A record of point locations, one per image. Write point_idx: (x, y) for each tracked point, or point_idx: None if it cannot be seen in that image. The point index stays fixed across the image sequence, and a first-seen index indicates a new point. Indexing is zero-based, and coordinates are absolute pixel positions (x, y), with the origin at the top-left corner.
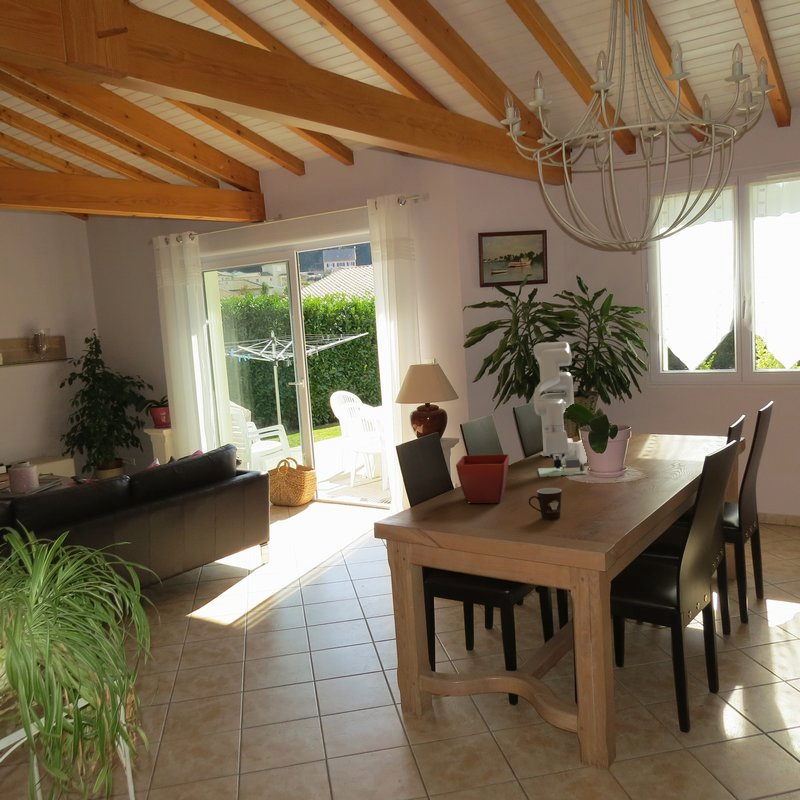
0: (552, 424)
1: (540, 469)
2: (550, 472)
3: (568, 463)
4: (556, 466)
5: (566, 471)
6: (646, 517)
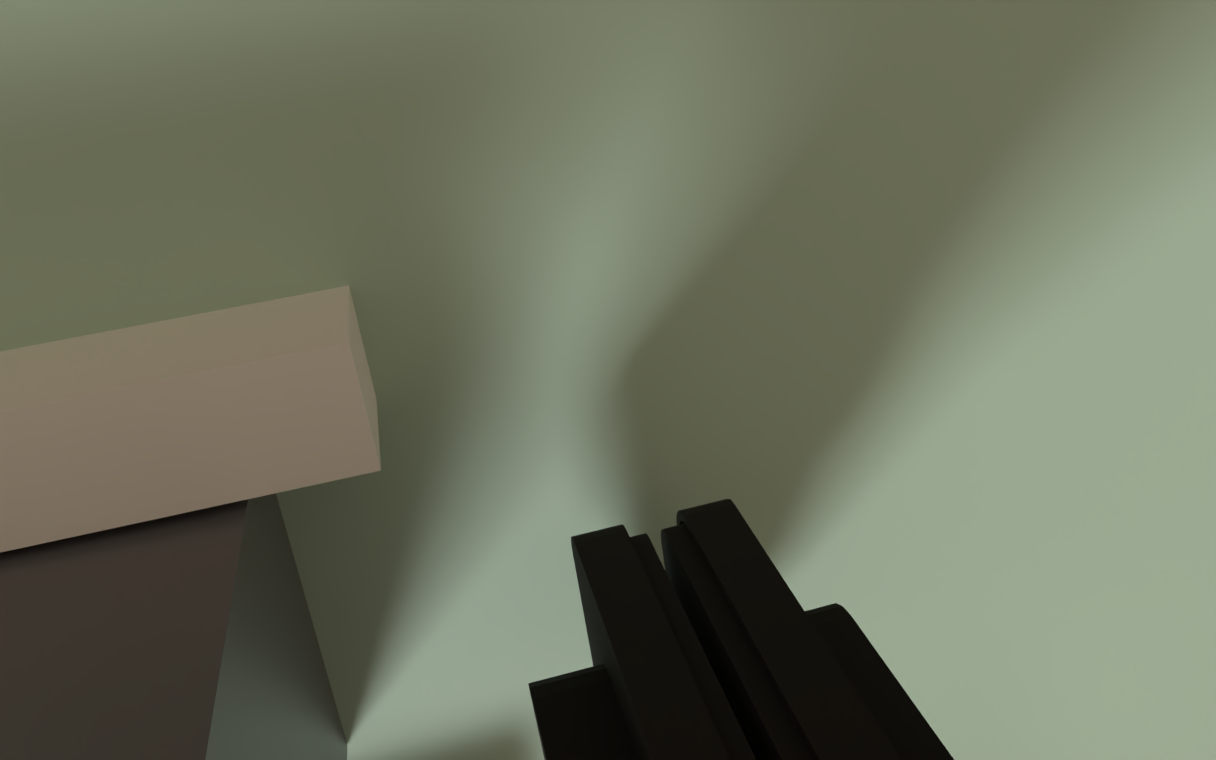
0: None
1: (1194, 710)
2: (940, 231)
3: (54, 700)
4: (756, 546)
5: (233, 313)
6: None
